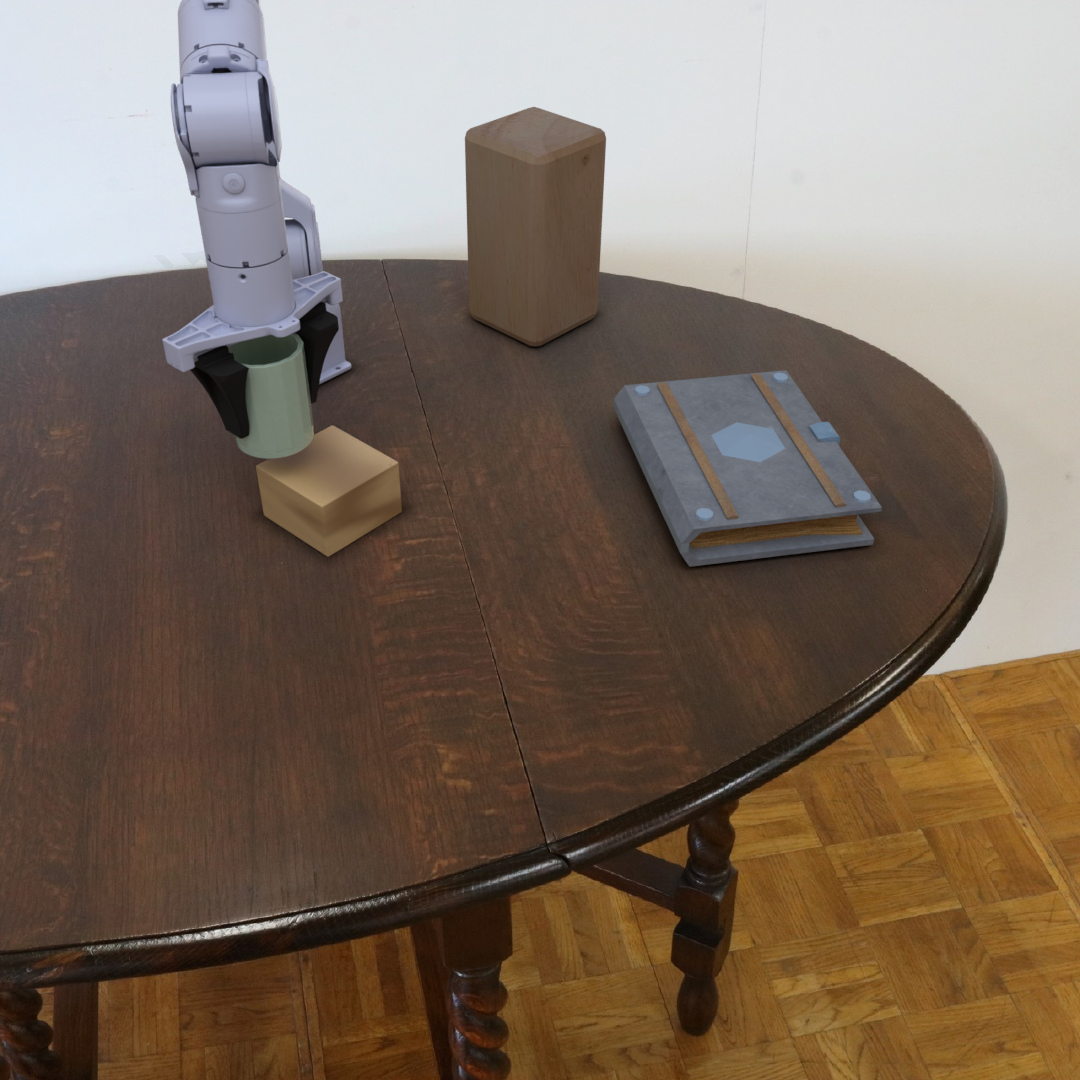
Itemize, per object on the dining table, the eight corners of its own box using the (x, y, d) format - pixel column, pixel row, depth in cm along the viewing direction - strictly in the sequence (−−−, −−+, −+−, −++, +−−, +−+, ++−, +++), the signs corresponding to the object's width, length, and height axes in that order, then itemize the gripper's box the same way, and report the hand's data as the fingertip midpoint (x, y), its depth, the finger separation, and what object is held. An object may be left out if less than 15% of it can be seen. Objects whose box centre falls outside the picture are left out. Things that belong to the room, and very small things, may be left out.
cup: (281, 407, 96) (268, 318, 91) (329, 435, 93) (319, 345, 88) (220, 438, 92) (203, 347, 87) (268, 468, 89) (254, 376, 84)
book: (612, 425, 108) (615, 377, 105) (783, 408, 111) (791, 361, 108) (678, 572, 92) (683, 521, 89) (876, 548, 95) (889, 498, 92)
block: (338, 473, 101) (332, 424, 98) (402, 511, 97) (399, 461, 94) (263, 515, 97) (255, 465, 94) (328, 557, 93) (321, 506, 90)
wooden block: (601, 318, 124) (611, 127, 111) (535, 353, 118) (538, 155, 105) (531, 287, 129) (533, 101, 116) (465, 319, 123) (460, 127, 111)
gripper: (194, 304, 76) (225, 476, 85) (363, 235, 85) (376, 397, 93) (131, 270, 80) (168, 438, 89) (300, 207, 89) (318, 366, 97)
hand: (271, 415), depth 91 cm, fingers closed on cup, 6 cm apart
